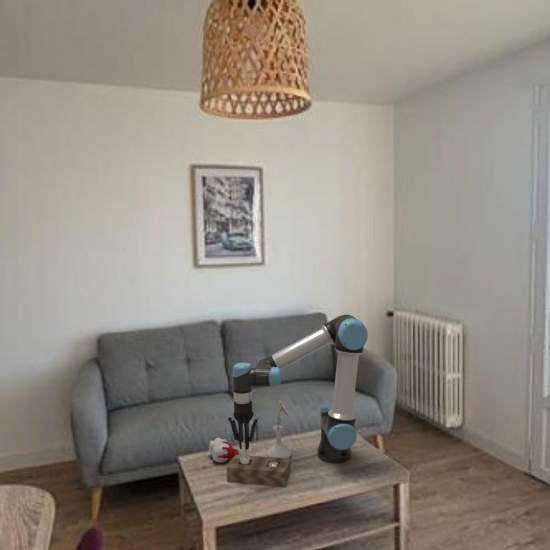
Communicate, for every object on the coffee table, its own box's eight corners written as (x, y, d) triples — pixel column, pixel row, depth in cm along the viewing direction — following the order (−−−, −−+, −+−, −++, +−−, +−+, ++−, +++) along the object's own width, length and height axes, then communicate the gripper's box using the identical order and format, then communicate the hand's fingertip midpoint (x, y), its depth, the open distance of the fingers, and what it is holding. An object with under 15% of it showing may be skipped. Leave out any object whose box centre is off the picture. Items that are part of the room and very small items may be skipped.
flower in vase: (287, 464, 218) (286, 408, 215) (263, 461, 221) (261, 406, 219) (296, 451, 230) (294, 398, 228) (272, 448, 233) (270, 396, 231)
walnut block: (291, 472, 210) (290, 458, 210) (284, 486, 198) (284, 472, 198) (236, 467, 216) (235, 454, 215) (227, 481, 204) (226, 467, 204)
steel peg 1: (251, 467, 210) (251, 455, 209) (248, 472, 206) (248, 459, 205) (242, 467, 211) (241, 454, 210) (239, 471, 207) (238, 458, 206)
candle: (208, 453, 230) (241, 457, 228) (202, 464, 219) (236, 469, 217) (210, 434, 229) (242, 438, 228) (204, 444, 218) (238, 449, 216)
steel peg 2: (279, 474, 207) (279, 461, 207) (277, 479, 203) (276, 466, 203) (270, 473, 208) (269, 461, 208) (267, 478, 204) (267, 465, 204)
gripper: (260, 398, 208) (262, 453, 210) (230, 397, 211) (232, 451, 213) (255, 405, 201) (257, 461, 203) (224, 403, 204) (226, 459, 206)
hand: (244, 456), depth 208 cm, fingers closed
